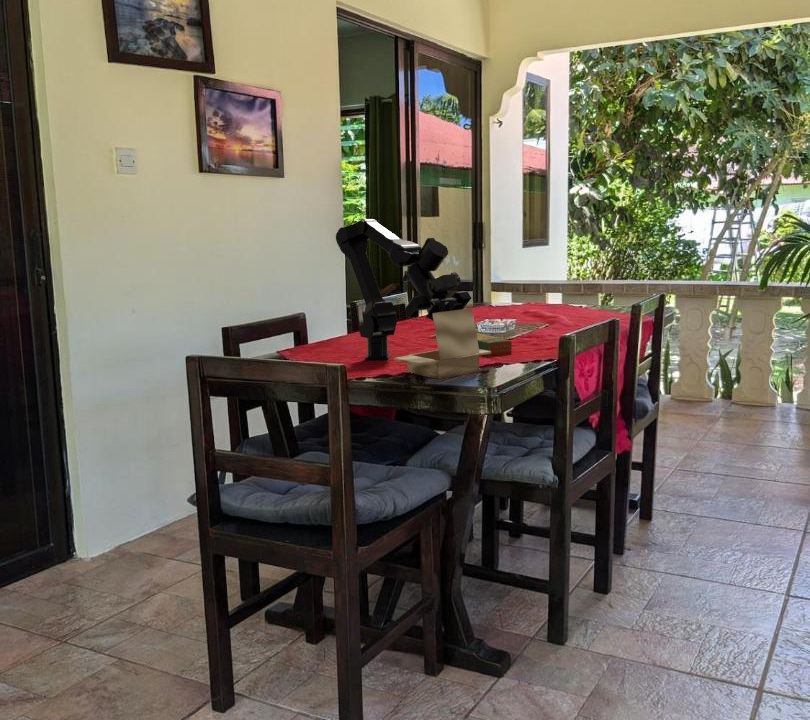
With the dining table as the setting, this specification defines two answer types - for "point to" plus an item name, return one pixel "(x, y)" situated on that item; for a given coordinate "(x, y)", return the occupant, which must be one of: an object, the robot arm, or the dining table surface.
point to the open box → (441, 364)
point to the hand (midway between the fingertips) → (454, 330)
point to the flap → (455, 333)
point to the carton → (494, 344)
